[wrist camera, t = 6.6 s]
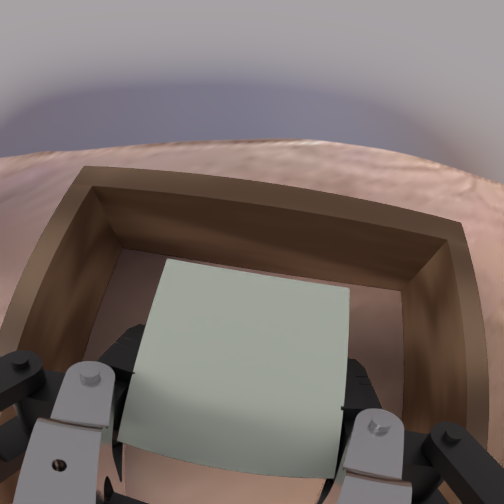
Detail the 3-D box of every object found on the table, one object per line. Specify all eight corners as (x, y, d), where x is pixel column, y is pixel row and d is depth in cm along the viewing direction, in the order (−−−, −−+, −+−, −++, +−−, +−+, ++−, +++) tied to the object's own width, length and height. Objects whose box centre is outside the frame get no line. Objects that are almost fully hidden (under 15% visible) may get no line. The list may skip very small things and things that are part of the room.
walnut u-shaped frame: (112, 227, 20) (83, 165, 15) (416, 274, 19) (461, 222, 14) (36, 484, 10) (-28, 488, 5) (401, 546, 9) (458, 571, 4)
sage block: (198, 340, 15) (167, 258, 8) (295, 356, 15) (349, 287, 8) (177, 434, 12) (116, 440, 5) (282, 452, 12) (334, 478, 5)
